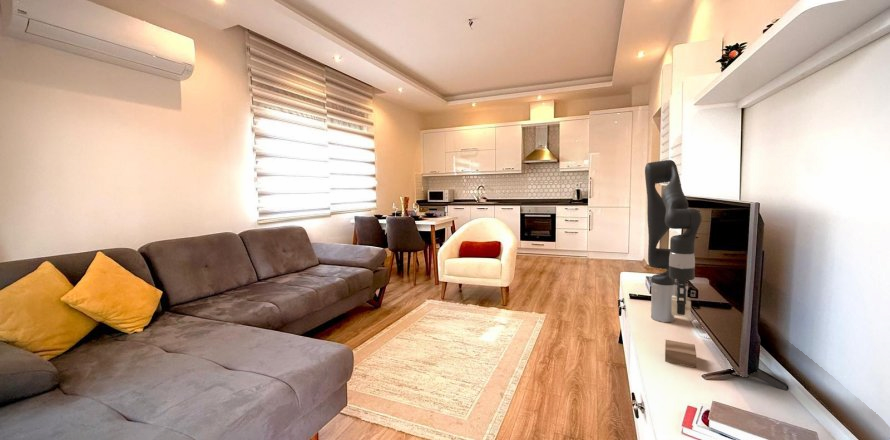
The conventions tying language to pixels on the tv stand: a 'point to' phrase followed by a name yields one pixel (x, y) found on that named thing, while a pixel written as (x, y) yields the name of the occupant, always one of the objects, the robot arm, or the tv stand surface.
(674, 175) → the robot arm
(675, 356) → the walnut base block
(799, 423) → the tv stand surface
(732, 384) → the tv stand surface
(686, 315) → the birch cube
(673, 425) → the tv stand surface
